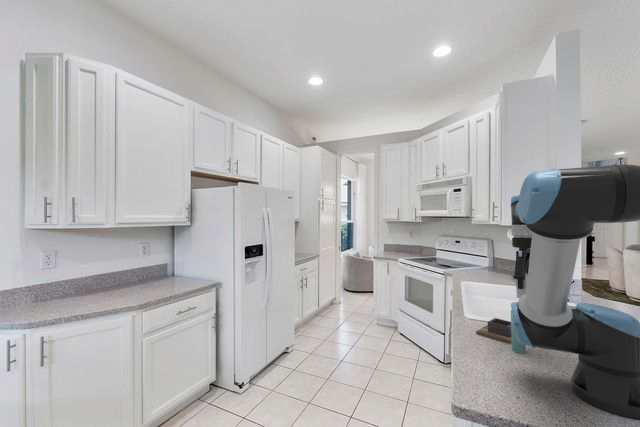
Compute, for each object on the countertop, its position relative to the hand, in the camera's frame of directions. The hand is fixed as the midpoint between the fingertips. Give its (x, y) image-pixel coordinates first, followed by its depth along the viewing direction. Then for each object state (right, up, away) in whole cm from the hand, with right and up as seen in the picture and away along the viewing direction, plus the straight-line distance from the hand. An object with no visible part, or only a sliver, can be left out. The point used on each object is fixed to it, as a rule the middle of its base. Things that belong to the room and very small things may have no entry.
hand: (526, 295), depth 101 cm
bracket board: (-2, -20, +12) cm, 23 cm away
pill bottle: (+21, -20, +5) cm, 30 cm away
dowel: (-5, -19, -2) cm, 20 cm away
